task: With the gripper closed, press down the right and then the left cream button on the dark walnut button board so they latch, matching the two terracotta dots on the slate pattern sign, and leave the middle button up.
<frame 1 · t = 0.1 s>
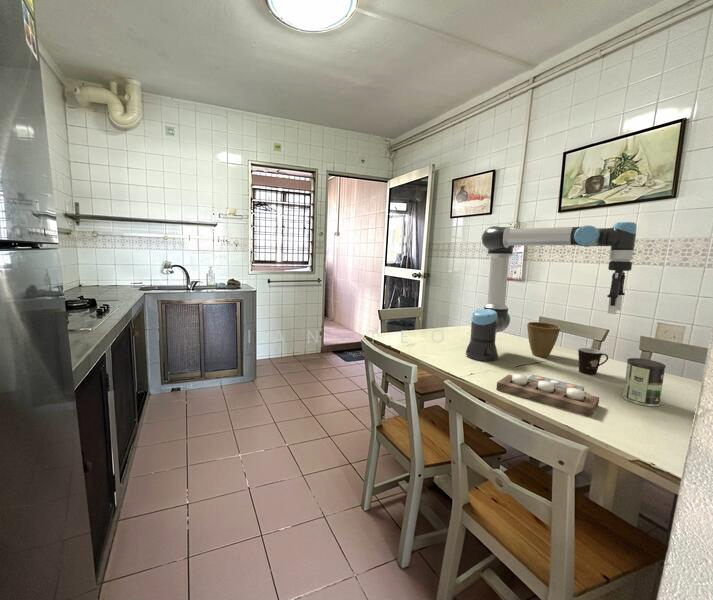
hand: (614, 312, 140), 28 cm above the table, tool pointing down, fingers open, 13 cm apart
coffee mug: (591, 373, 147), on the table
button board: (544, 397, 121), on the table
coffee can: (640, 400, 120), on the table
pattern sign: (554, 387, 130), on the table
button right: (575, 394, 114), point 4 cm above the table, slide at 0.0 cm
plant pot: (540, 355, 173), on the table
button middle: (545, 386, 120), point 4 cm above the table, slide at 0.0 cm
button left: (519, 379, 126), point 4 cm above the table, slide at 0.0 cm
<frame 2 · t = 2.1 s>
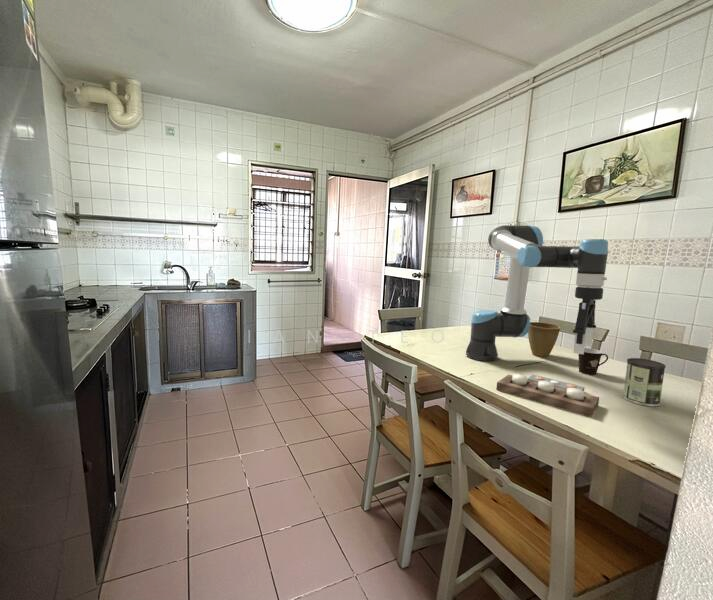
hand: (582, 349, 113), 19 cm above the table, tool pointing down, fingers open, 13 cm apart
nothing on the table moved.
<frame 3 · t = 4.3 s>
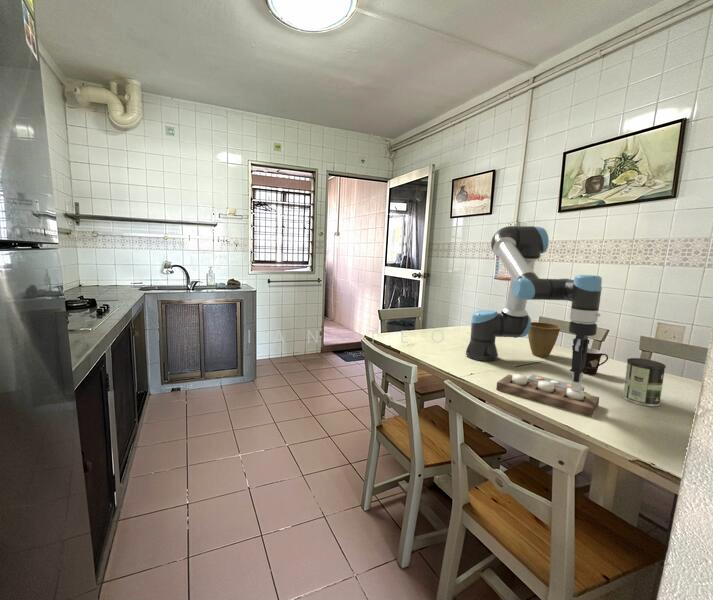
hand: (575, 390, 113), 6 cm above the table, tool pointing down, fingers closed
button right: (575, 394, 114), point 4 cm above the table, slide at 0.1 cm, touching gripper
everything else where it was.
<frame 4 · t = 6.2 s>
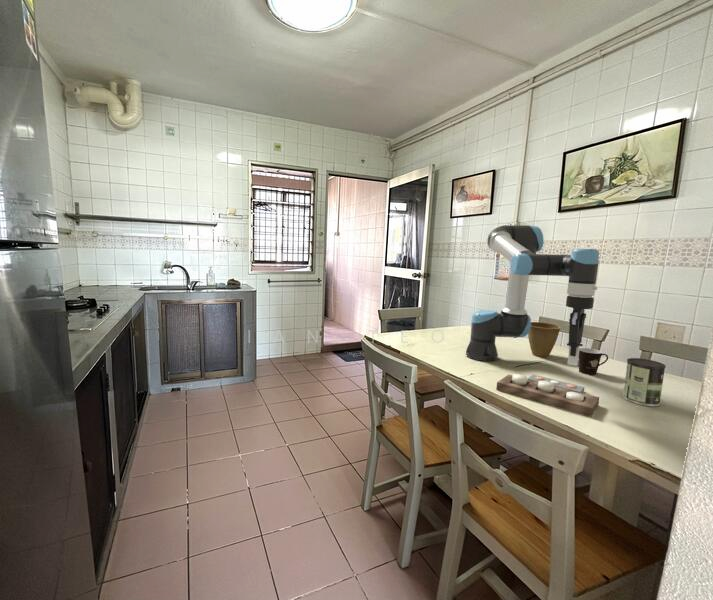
hand: (572, 364, 114), 14 cm above the table, tool pointing down, fingers closed
button right: (574, 398, 114), point 3 cm above the table, slide at 1.5 cm
everything else where it was.
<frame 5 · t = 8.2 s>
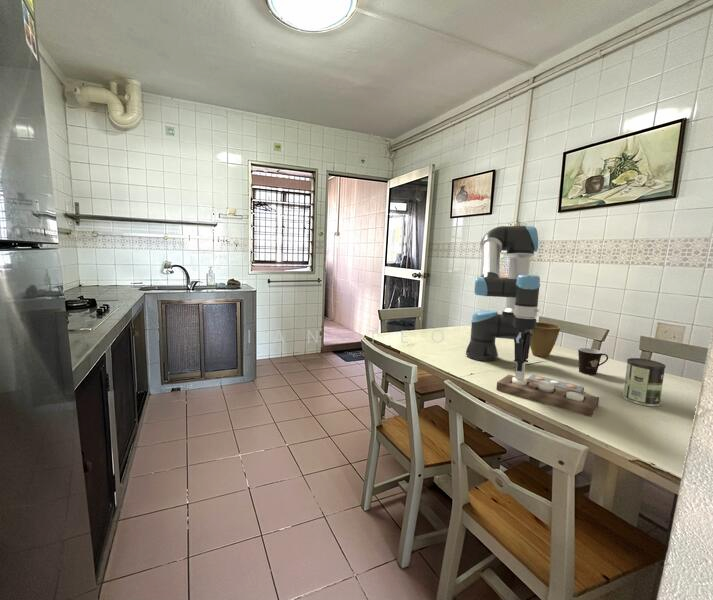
hand: (519, 378, 126), 5 cm above the table, tool pointing down, fingers closed
button left: (519, 382, 126), point 3 cm above the table, slide at 1.0 cm, touching gripper
everything else where it was.
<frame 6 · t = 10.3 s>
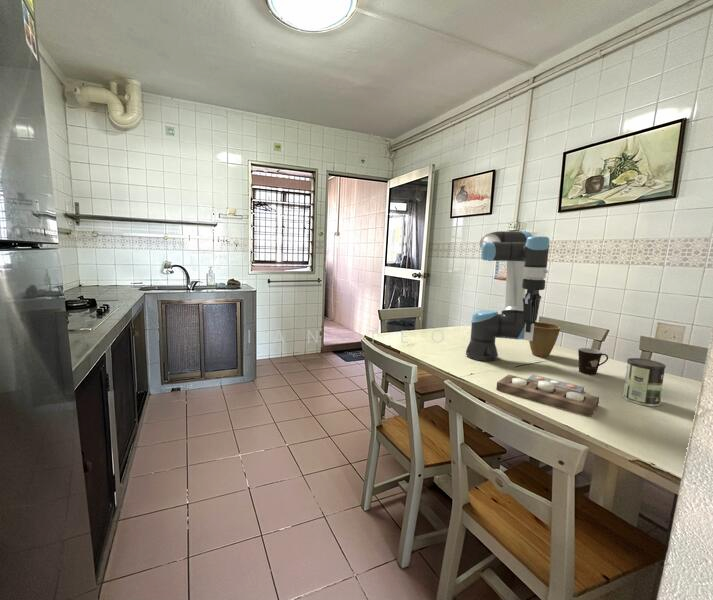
hand: (528, 339, 128), 19 cm above the table, tool pointing down, fingers closed
button left: (519, 383, 126), point 3 cm above the table, slide at 1.5 cm
everything else where it was.
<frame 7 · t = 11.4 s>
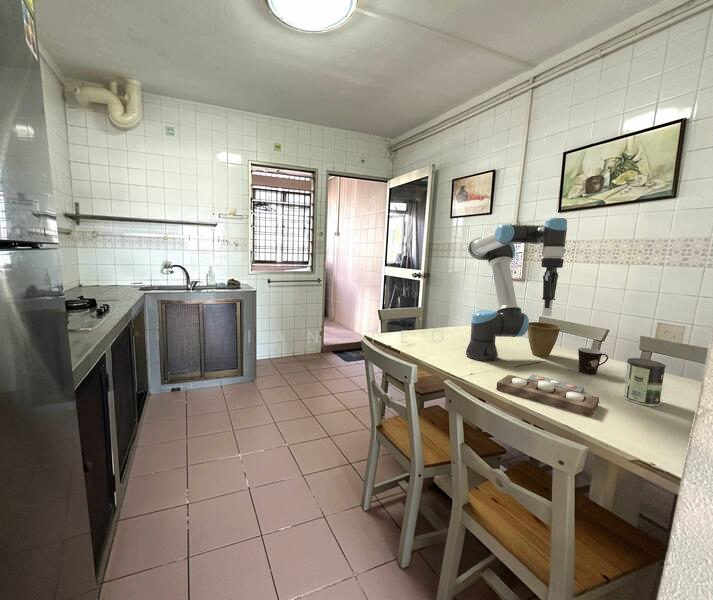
hand: (547, 315, 137), 26 cm above the table, tool pointing down, fingers closed
nothing on the table moved.
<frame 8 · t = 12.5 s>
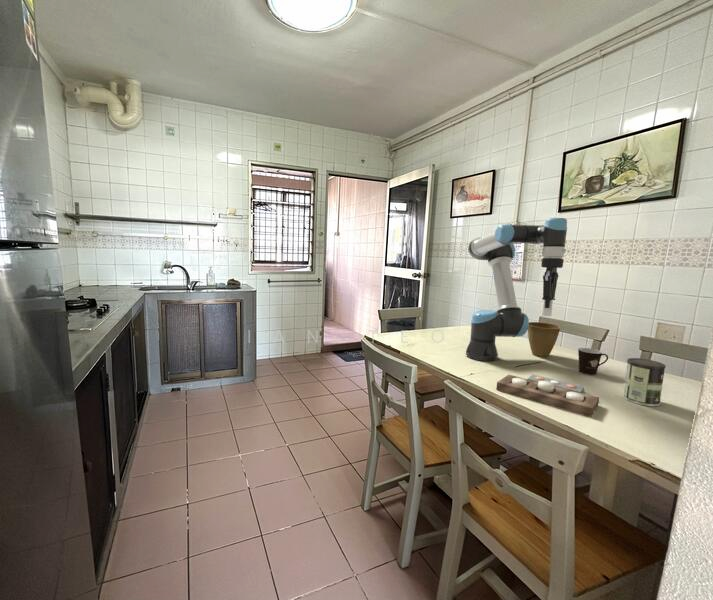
hand: (547, 315, 137), 26 cm above the table, tool pointing down, fingers closed
nothing on the table moved.
at the end: button right slide at 1.5 cm; button left slide at 1.5 cm; button middle slide at 0.0 cm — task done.
